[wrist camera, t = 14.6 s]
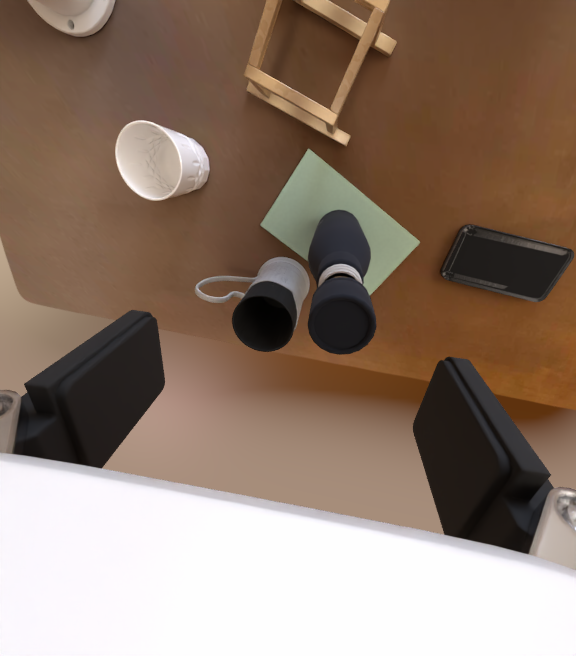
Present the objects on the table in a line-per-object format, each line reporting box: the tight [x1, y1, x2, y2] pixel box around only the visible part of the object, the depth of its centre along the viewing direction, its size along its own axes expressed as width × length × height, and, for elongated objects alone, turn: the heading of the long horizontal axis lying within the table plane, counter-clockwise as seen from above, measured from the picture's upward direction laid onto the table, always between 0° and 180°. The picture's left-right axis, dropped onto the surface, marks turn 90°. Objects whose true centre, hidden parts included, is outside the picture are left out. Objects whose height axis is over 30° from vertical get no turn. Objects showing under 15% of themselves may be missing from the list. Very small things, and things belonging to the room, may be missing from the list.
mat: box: [260, 149, 420, 296], centre depth 43 cm, size 20×12×1 cm, turn 54°
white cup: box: [115, 120, 210, 201], centre depth 38 cm, size 8×8×10 cm
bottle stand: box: [244, 0, 397, 146], centre depth 31 cm, size 14×11×9 cm
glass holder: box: [195, 257, 310, 352], centre depth 42 cm, size 9×14×15 cm, turn 71°
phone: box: [441, 224, 574, 302], centre depth 42 cm, size 8×1×15 cm
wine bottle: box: [308, 210, 376, 355], centre depth 30 cm, size 6×6×30 cm
